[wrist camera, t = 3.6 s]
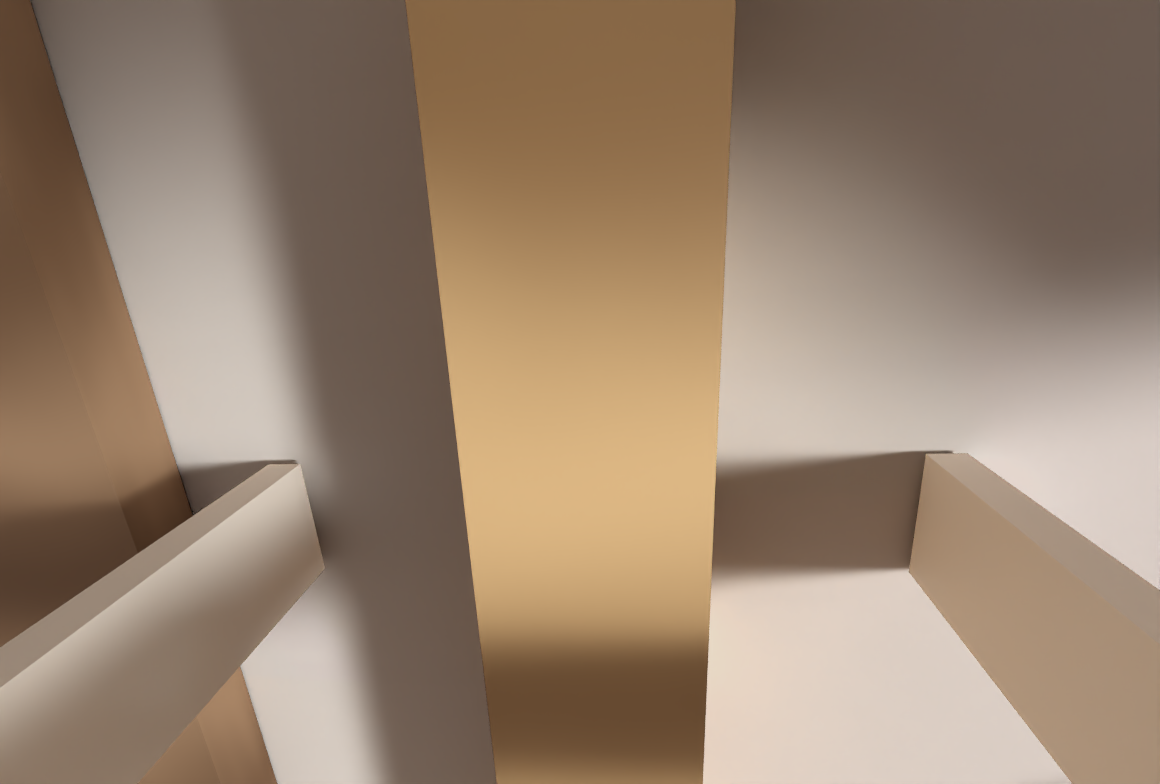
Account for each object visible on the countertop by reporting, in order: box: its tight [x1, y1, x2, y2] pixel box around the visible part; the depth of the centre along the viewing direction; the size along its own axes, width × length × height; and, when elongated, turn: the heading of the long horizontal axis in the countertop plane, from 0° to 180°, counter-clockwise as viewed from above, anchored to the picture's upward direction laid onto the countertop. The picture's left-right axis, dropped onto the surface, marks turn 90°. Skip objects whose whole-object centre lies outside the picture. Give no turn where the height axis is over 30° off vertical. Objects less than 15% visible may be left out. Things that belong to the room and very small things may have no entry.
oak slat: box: [405, 0, 736, 784], centre depth 10 cm, size 24×3×5 cm, turn 2°
